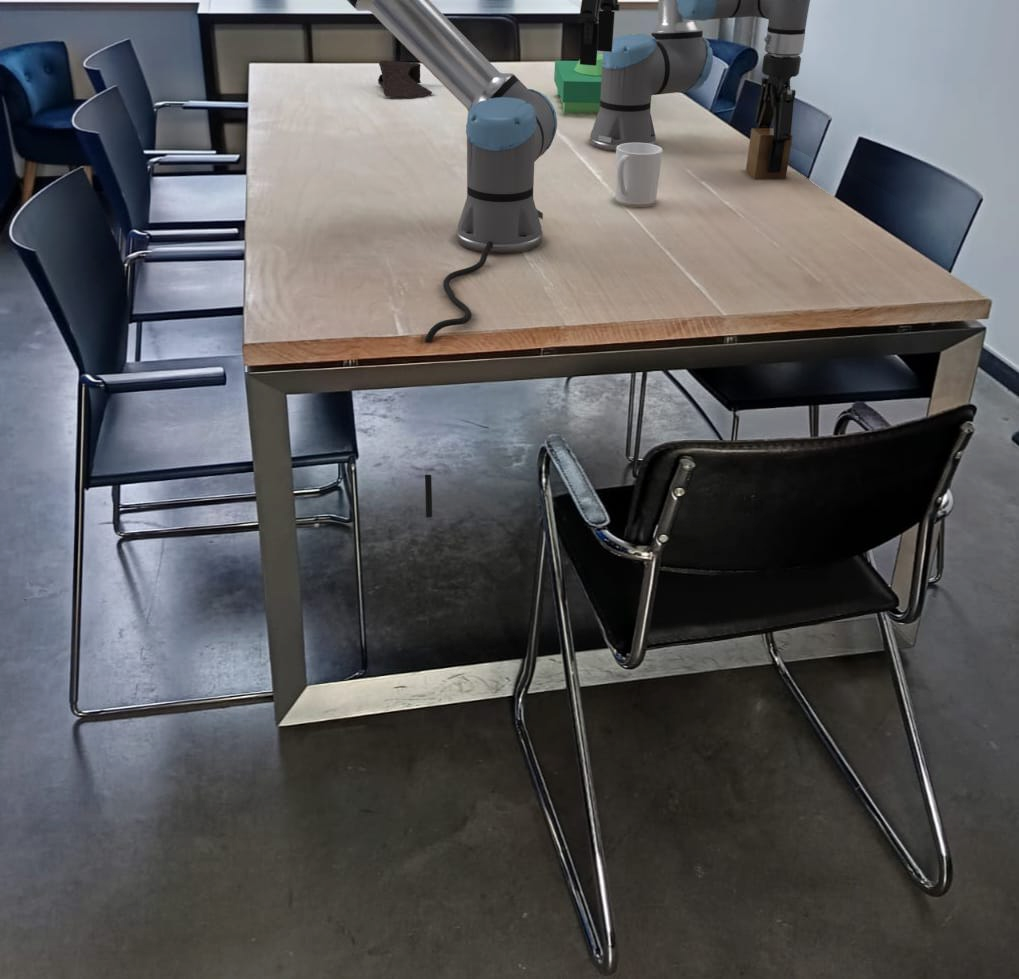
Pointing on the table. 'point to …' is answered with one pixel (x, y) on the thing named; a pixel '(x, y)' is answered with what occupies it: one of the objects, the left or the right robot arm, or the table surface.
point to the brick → (765, 154)
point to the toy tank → (579, 86)
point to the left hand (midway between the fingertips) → (596, 57)
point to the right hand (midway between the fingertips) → (766, 166)
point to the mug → (637, 174)
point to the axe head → (401, 79)
